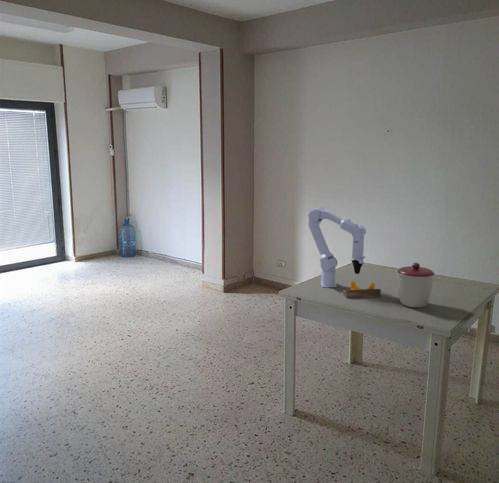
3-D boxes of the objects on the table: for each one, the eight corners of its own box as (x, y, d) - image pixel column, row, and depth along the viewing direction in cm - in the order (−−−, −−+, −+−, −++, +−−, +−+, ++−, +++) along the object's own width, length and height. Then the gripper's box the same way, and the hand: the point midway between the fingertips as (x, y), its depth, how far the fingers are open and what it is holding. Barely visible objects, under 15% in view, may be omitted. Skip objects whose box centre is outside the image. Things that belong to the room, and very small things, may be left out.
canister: (397, 310, 230) (399, 267, 226) (391, 298, 247) (393, 258, 243) (437, 311, 227) (440, 268, 223) (428, 299, 245) (431, 259, 241)
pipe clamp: (350, 295, 254) (350, 283, 252) (351, 292, 258) (351, 281, 256) (373, 297, 250) (374, 285, 249) (374, 294, 254) (374, 282, 253)
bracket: (342, 293, 255) (343, 286, 254) (376, 293, 256) (376, 285, 255) (346, 297, 249) (346, 290, 248) (380, 296, 250) (380, 289, 249)
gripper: (369, 251, 250) (368, 277, 253) (361, 245, 264) (360, 269, 267) (356, 251, 250) (355, 277, 252) (348, 246, 264) (347, 270, 266)
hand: (357, 273), depth 260 cm, fingers closed
